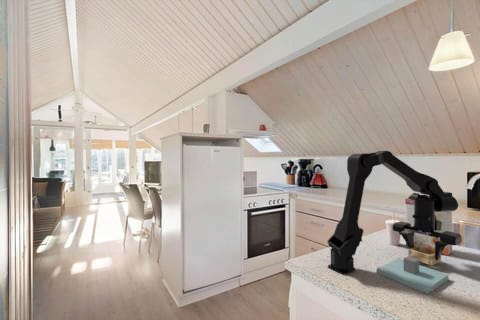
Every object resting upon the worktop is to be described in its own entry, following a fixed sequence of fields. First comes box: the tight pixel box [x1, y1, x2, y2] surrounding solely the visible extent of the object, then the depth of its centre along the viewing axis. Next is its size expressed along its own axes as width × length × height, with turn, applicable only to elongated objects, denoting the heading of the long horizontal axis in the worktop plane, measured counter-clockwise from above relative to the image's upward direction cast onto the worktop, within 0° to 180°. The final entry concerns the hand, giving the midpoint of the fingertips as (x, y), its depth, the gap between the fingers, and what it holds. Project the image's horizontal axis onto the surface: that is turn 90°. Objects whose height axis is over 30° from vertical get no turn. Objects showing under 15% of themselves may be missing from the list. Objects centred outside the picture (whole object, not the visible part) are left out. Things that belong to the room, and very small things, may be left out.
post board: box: [376, 256, 449, 295], centre depth 75 cm, size 14×14×6 cm
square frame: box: [407, 246, 442, 266], centre depth 84 cm, size 7×7×3 cm
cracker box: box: [404, 194, 453, 256], centre depth 96 cm, size 14×6×21 cm, turn 34°
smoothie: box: [384, 211, 402, 247], centre depth 102 cm, size 6×6×14 cm
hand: (424, 256), depth 84 cm, fingers closed on square frame, 7 cm apart
